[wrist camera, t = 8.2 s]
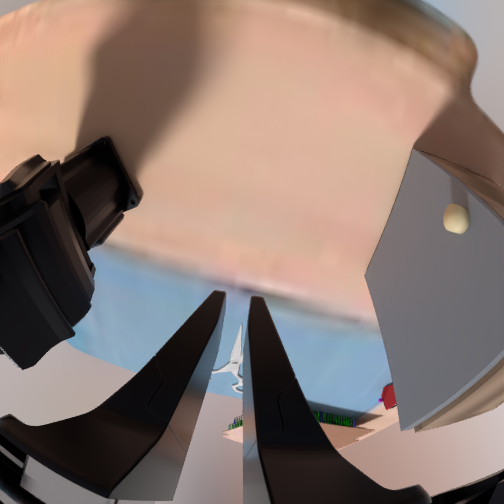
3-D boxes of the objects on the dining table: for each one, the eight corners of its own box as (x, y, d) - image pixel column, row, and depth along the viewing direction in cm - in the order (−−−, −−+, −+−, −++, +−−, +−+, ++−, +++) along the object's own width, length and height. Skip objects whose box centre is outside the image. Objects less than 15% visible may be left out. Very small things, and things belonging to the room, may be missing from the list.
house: (272, 395, 41) (269, 439, 35) (383, 419, 50) (386, 448, 43) (213, 421, 54) (208, 451, 47) (318, 442, 62) (318, 467, 56)
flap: (356, 274, 23) (390, 432, 12) (403, 145, 16) (545, 285, 4) (372, 276, 23) (410, 429, 12) (421, 151, 16) (558, 288, 4)
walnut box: (373, 274, 23) (415, 432, 11) (420, 150, 16) (563, 293, 4) (443, 282, 23) (494, 408, 11) (492, 181, 16) (597, 298, 4)
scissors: (186, 383, 40) (212, 315, 28) (187, 379, 41) (213, 309, 29) (248, 398, 41) (304, 339, 29) (248, 394, 42) (303, 334, 30)
